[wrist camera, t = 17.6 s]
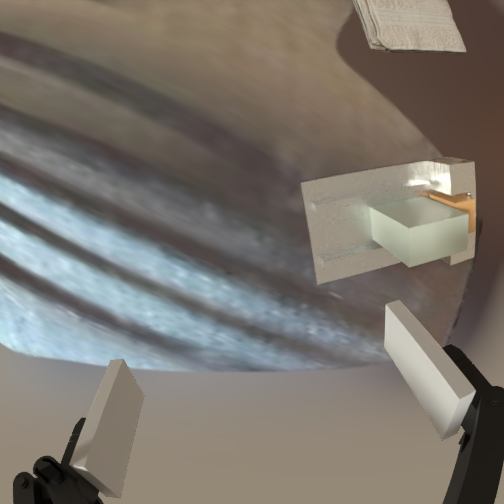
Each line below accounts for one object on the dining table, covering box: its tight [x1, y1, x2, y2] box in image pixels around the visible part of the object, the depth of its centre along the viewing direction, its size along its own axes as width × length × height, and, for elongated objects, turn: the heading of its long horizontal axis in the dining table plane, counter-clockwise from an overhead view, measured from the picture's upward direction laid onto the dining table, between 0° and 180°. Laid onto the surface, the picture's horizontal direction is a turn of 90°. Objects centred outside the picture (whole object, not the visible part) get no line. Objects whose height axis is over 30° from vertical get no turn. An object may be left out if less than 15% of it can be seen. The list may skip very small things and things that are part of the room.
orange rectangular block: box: [429, 192, 475, 234], centre depth 36 cm, size 5×4×6 cm
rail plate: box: [299, 157, 476, 284], centre depth 37 cm, size 14×24×6 cm, turn 102°
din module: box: [370, 197, 469, 267], centre depth 34 cm, size 4×9×10 cm, turn 102°
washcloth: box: [353, 0, 466, 55], centre depth 29 cm, size 12×18×3 cm, turn 105°
